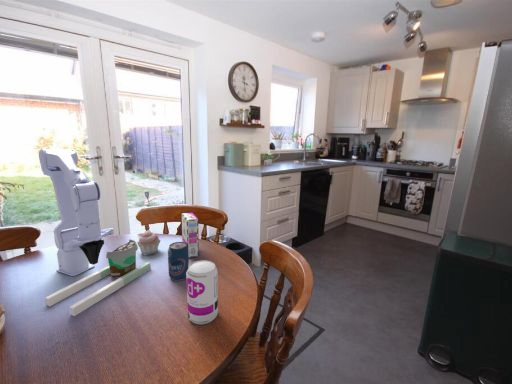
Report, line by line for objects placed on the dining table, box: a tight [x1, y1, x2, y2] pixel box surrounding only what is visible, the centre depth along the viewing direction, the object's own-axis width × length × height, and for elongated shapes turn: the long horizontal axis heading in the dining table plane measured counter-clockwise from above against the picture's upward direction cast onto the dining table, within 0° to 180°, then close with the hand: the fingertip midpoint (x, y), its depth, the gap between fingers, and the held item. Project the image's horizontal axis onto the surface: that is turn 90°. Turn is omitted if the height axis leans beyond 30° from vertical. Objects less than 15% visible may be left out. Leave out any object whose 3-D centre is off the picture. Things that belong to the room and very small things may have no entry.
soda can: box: [167, 241, 190, 282], centre depth 89 cm, size 7×7×12 cm
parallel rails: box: [44, 261, 152, 317], centre depth 84 cm, size 12×28×2 cm, turn 159°
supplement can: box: [186, 260, 219, 325], centre depth 69 cm, size 8×8×15 cm
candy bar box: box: [181, 212, 200, 259], centre depth 108 cm, size 11×5×16 cm, turn 27°
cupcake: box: [136, 229, 162, 256], centre depth 107 cm, size 9×9×10 cm
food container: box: [105, 239, 139, 278], centre depth 91 cm, size 12×6×10 cm, turn 169°
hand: (93, 263), depth 79 cm, fingers closed
